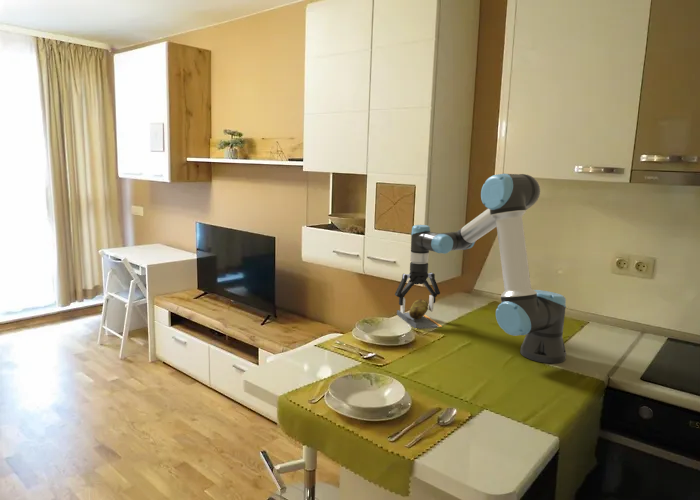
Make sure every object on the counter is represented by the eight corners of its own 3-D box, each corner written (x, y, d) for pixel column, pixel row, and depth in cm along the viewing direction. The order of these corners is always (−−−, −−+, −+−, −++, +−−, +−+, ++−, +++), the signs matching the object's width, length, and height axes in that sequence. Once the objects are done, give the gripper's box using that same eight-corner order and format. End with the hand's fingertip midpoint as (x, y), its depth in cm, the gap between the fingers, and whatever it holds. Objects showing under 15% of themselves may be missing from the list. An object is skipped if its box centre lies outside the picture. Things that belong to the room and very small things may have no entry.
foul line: (442, 326, 211) (442, 326, 211) (439, 327, 210) (439, 326, 210) (421, 312, 230) (421, 312, 229) (419, 313, 229) (419, 312, 229)
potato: (401, 315, 214) (405, 297, 214) (413, 315, 225) (418, 297, 225) (418, 321, 210) (423, 302, 210) (430, 320, 221) (435, 302, 221)
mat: (437, 327, 210) (437, 322, 210) (415, 329, 207) (416, 324, 207) (417, 313, 229) (417, 308, 229) (396, 314, 226) (397, 310, 226)
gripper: (441, 259, 221) (438, 307, 225) (388, 261, 213) (386, 310, 217) (450, 262, 214) (447, 312, 217) (395, 264, 206) (393, 316, 210)
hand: (416, 311), depth 217 cm, fingers open, 12 cm apart
